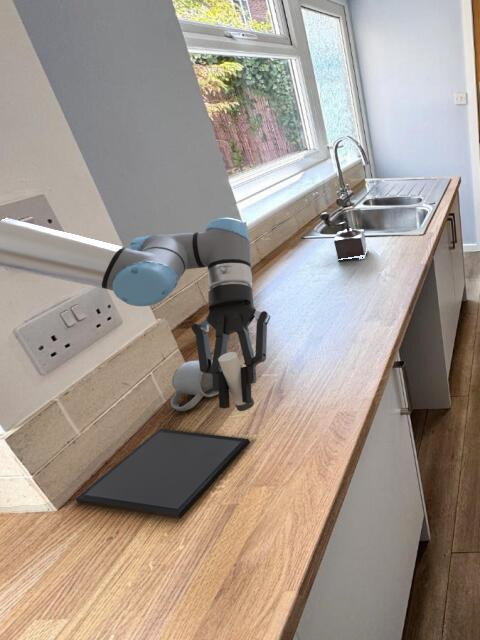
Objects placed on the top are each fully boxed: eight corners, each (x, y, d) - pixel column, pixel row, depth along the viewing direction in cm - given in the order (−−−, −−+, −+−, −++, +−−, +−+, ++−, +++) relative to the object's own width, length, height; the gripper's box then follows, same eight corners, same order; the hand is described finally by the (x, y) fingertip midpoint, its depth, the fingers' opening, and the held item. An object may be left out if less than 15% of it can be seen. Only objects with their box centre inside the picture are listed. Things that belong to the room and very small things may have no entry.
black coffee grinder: (368, 249, 169) (360, 208, 162) (365, 259, 159) (357, 216, 152) (329, 253, 167) (319, 211, 159) (324, 264, 157) (313, 220, 149)
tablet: (77, 503, 68) (74, 498, 67) (161, 432, 81) (159, 428, 81) (180, 518, 64) (177, 514, 64) (249, 442, 78) (248, 438, 78)
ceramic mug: (203, 378, 96) (191, 352, 93) (234, 380, 95) (223, 354, 92) (162, 411, 86) (148, 384, 83) (196, 415, 85) (182, 386, 82)
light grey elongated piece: (233, 410, 80) (214, 360, 75) (244, 399, 82) (226, 351, 78) (246, 411, 79) (228, 362, 74) (257, 401, 82) (240, 352, 77)
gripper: (175, 290, 78) (174, 416, 70) (269, 275, 83) (278, 391, 75) (193, 302, 84) (194, 418, 77) (279, 287, 90) (288, 394, 82)
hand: (235, 404), depth 76 cm, fingers closed on light grey elongated piece, 3 cm apart
